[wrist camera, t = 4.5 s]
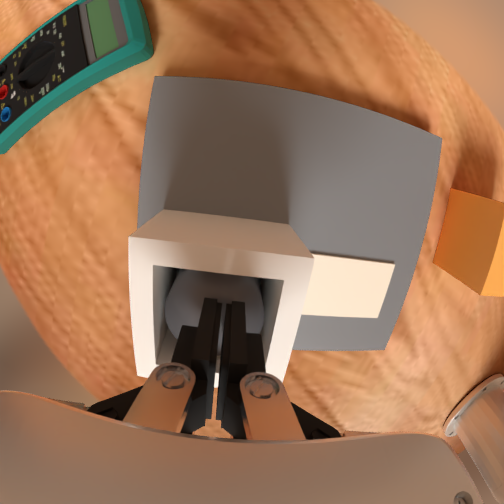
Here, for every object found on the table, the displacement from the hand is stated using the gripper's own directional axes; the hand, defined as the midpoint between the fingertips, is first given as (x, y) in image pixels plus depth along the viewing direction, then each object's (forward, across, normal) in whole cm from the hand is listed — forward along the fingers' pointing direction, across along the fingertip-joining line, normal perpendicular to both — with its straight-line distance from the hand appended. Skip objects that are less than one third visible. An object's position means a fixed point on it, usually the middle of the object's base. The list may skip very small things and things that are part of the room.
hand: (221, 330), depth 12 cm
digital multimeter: (+7, +14, -13) cm, 21 cm away
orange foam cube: (+7, -18, -5) cm, 20 cm away
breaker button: (+5, 0, 0) cm, 5 cm away
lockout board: (+7, -4, -3) cm, 8 cm away
